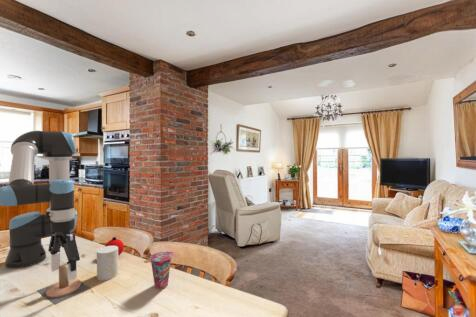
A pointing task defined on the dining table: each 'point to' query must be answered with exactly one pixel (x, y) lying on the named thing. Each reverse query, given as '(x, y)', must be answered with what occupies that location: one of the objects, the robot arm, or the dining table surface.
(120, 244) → the ornament
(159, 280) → the cup
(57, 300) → the mat
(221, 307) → the dining table surface
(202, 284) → the dining table surface
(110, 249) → the white round pillar
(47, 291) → the lid
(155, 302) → the dining table surface
